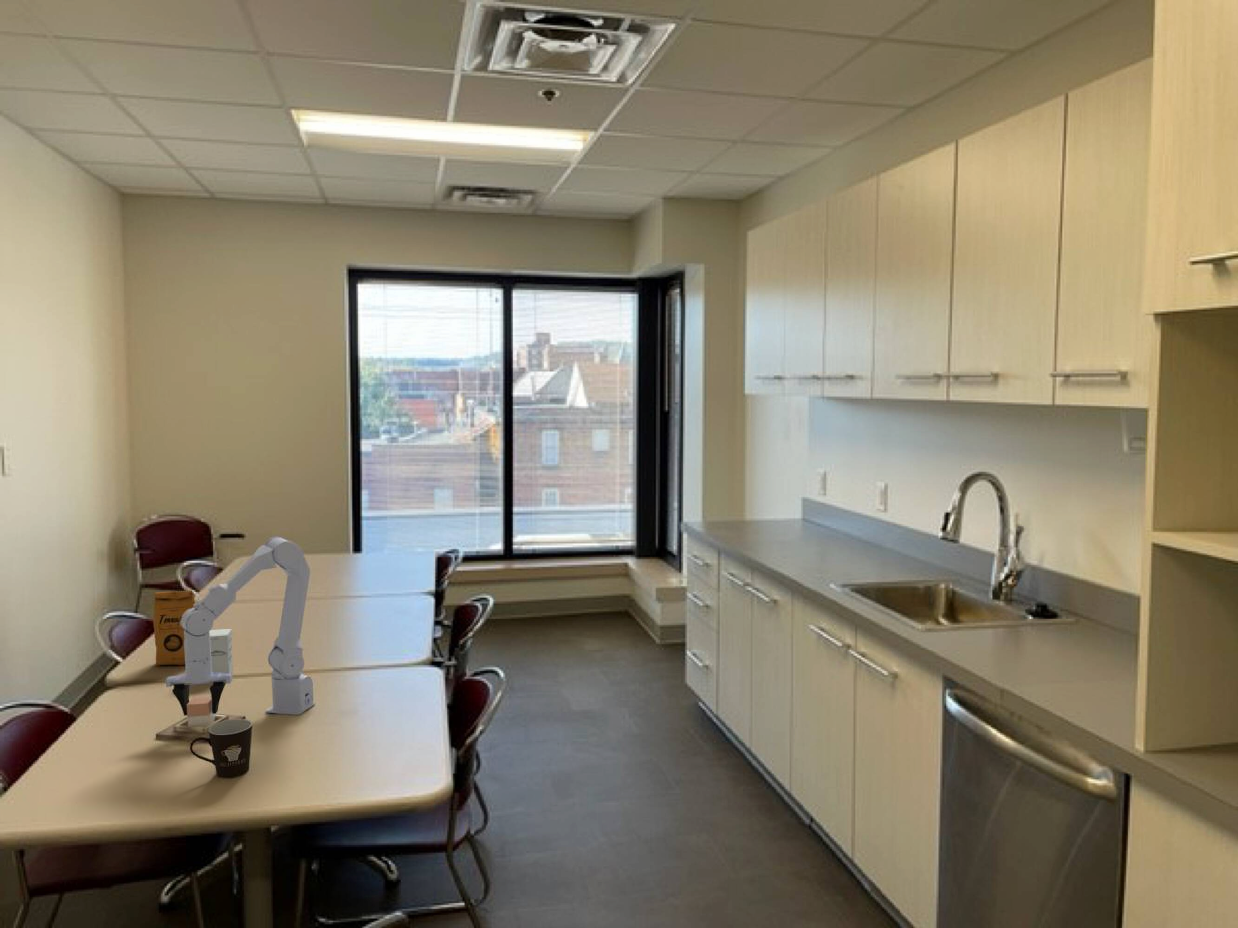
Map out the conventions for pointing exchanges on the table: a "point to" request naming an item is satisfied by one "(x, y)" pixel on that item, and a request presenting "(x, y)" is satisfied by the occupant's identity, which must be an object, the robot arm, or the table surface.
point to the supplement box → (221, 651)
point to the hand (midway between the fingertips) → (201, 713)
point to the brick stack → (200, 712)
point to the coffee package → (170, 626)
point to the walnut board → (192, 729)
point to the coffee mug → (229, 747)
